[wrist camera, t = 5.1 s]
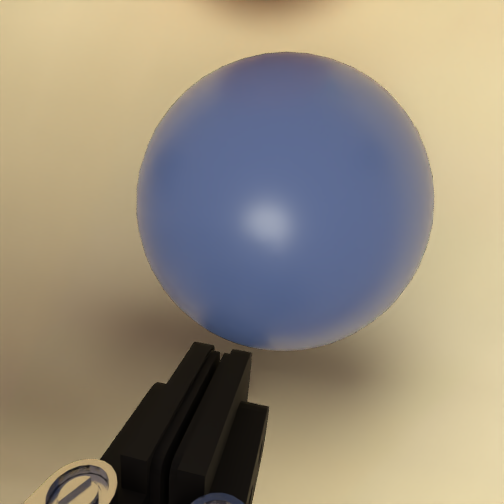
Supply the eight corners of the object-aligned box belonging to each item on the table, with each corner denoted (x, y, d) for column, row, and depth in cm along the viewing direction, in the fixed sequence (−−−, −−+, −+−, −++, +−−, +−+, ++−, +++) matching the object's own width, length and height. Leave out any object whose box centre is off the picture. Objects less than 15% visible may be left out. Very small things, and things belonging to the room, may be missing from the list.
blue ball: (423, -66, 3) (338, -17, 7) (-13, 226, 5) (135, 120, 9) (535, 363, 5) (419, 200, 10) (220, 442, 7) (246, 274, 12)
